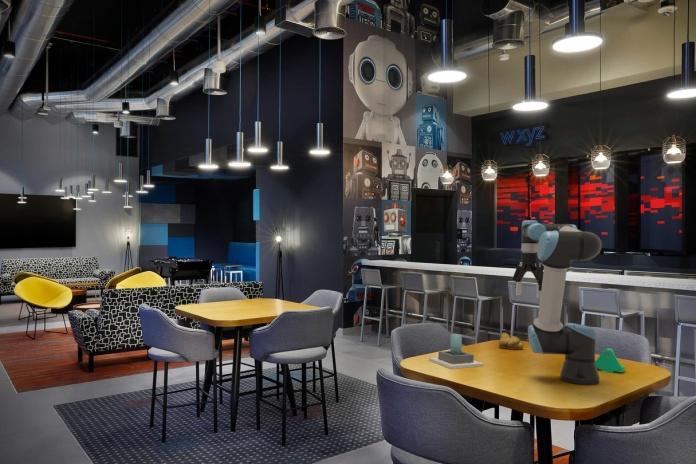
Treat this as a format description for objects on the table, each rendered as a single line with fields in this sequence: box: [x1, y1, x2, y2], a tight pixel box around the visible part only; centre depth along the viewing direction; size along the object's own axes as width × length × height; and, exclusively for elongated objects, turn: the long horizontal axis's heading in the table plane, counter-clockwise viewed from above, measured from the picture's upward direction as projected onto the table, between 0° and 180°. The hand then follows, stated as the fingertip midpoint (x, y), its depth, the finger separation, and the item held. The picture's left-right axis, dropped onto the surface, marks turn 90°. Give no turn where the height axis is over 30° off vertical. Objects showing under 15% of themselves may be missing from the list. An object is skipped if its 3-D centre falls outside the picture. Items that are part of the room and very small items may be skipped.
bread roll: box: [498, 332, 524, 350], centre depth 294 cm, size 13×10×8 cm
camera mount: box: [595, 348, 626, 374], centre depth 247 cm, size 12×8×10 cm, turn 54°
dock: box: [428, 350, 485, 370], centre depth 255 cm, size 18×18×5 cm
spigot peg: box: [450, 333, 463, 355], centre depth 255 cm, size 5×5×12 cm
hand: (528, 296), depth 262 cm, fingers open, 13 cm apart
